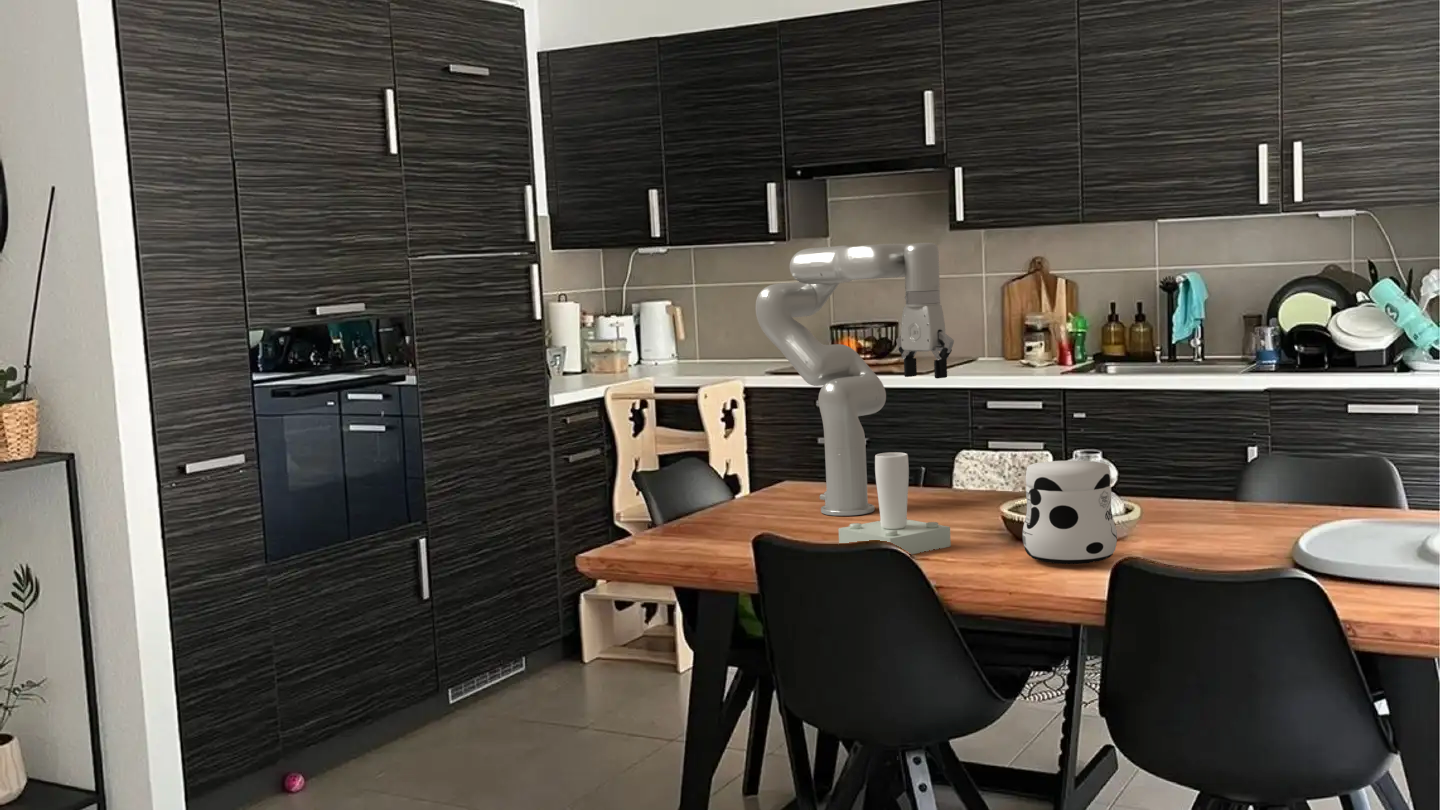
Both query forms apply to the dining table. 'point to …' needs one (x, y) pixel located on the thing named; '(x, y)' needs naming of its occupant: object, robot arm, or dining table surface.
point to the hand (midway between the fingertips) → (925, 377)
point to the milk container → (1069, 512)
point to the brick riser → (900, 535)
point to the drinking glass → (892, 488)
